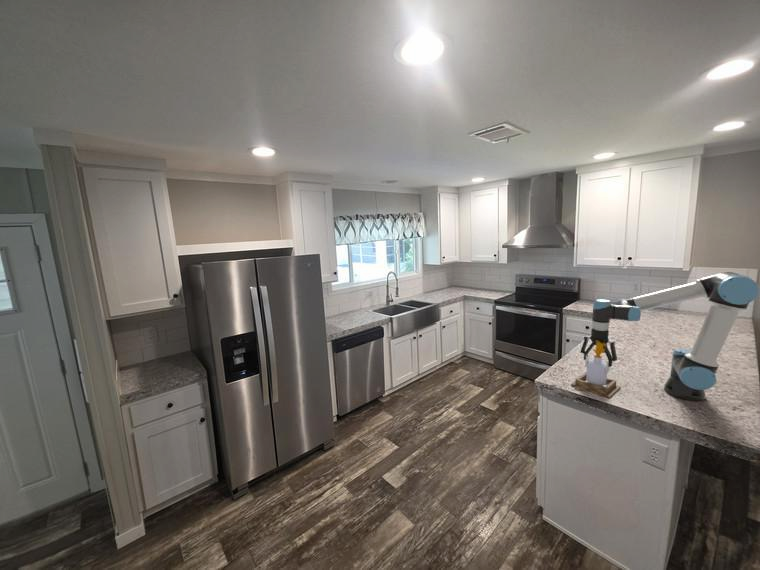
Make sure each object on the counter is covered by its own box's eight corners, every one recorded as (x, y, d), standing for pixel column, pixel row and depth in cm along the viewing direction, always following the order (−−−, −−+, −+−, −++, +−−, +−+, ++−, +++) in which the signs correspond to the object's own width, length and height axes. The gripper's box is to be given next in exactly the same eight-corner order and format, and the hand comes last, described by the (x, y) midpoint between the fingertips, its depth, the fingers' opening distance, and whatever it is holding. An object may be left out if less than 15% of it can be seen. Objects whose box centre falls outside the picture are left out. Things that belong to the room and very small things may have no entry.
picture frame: (620, 388, 168) (621, 381, 168) (609, 398, 159) (610, 391, 158) (583, 376, 183) (583, 370, 182) (571, 385, 173) (571, 378, 173)
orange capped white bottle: (602, 378, 173) (605, 336, 169) (609, 386, 165) (612, 342, 161) (583, 377, 176) (586, 335, 172) (589, 385, 167) (592, 341, 163)
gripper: (627, 331, 159) (623, 373, 163) (580, 323, 176) (577, 361, 180) (622, 335, 155) (618, 377, 158) (574, 325, 172) (572, 364, 176)
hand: (597, 368), depth 169 cm, fingers closed on orange capped white bottle, 9 cm apart
